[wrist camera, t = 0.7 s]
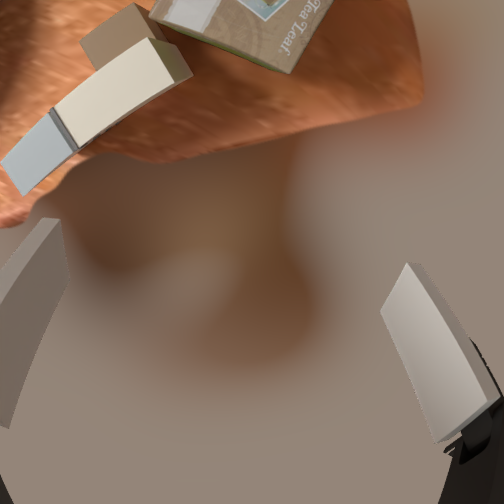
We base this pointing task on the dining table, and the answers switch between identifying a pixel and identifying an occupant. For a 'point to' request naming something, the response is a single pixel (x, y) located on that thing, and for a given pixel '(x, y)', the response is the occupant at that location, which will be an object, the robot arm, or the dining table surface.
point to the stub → (38, 154)
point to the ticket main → (120, 75)
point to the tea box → (248, 26)
